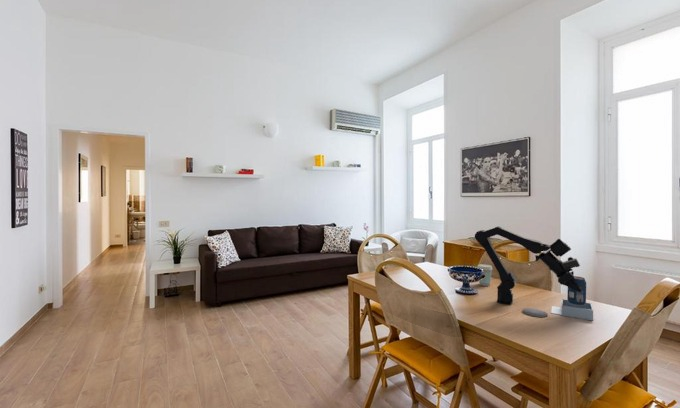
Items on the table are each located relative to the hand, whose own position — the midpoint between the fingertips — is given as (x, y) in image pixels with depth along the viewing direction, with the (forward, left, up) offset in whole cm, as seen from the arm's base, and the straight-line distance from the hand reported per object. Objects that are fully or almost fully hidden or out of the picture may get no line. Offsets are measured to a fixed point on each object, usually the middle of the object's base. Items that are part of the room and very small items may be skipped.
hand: (580, 289), depth 151 cm
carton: (-3, +2, -11) cm, 12 cm away
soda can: (-1, 0, -7) cm, 7 cm away
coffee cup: (-46, +30, -12) cm, 56 cm away
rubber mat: (-17, -10, -11) cm, 23 cm away
